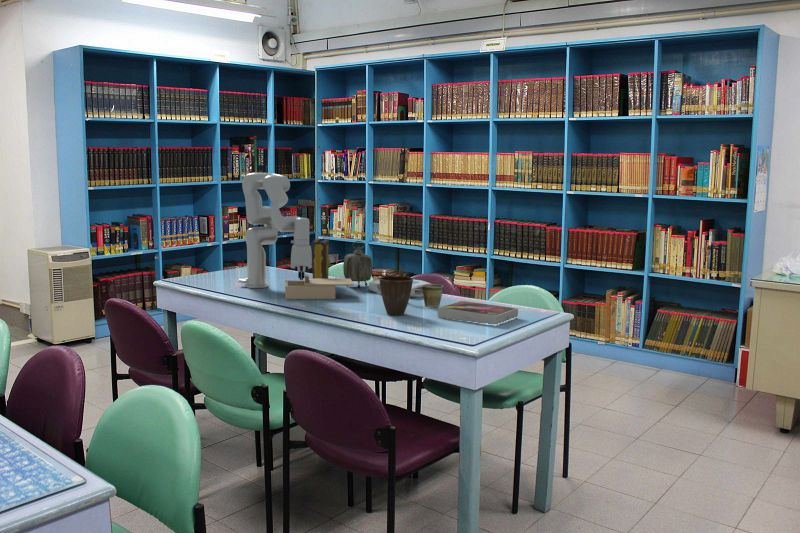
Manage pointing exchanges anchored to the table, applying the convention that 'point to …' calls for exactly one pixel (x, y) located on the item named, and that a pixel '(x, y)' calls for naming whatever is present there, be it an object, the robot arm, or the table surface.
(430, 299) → the ceramic cup
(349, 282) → the mailer lid
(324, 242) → the book
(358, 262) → the grey rounded piece
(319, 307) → the table surface
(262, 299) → the table surface
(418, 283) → the document scanner
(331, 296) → the box
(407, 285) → the plant pot
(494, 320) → the product packaging
